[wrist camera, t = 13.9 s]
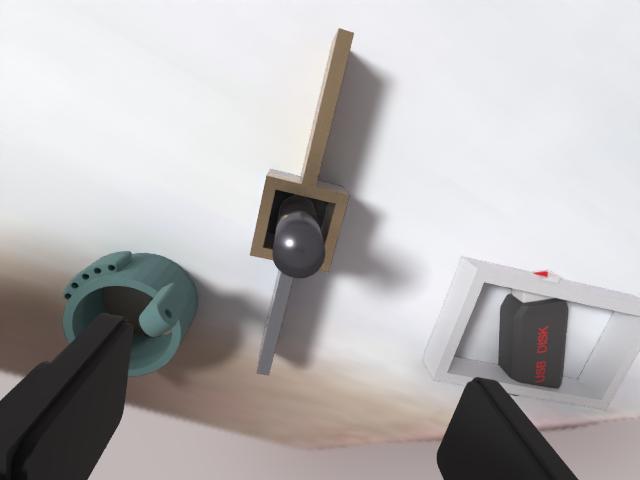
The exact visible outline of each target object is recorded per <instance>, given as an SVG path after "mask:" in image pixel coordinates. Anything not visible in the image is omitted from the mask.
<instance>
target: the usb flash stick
mask: <svg viewBox="0 0 640 480" xmlns="http://www.w3.org/2000/svg"><path fill="white" fill-rule="evenodd" d="M532 273H534V274H536V275H541V276H545V277H548V278H544V279H542V280H547V281H551V282H556V283H560V276H558V275H556V274H554V273H553V272H551V271H549V270H540V271H534V272H532ZM567 320H568V306H567V303H566V301H565V300H563V299H558V298H554V297H549V296H545V295H540V294H535V293H531V292H526V291H522V290H517V289H512V294H508V295H507V296H506V298H505V300H504V301H503V303H502V305H501V308H500V331H499V366H500V367H501V368H502V369H503V370H504V372H505V373H506V374H507V375H508V376H509V377H510V378H511V379H513V380H515V381H517V382H519V383H524V384H530V385H536V386H542V387H548V388H556V389H559V388H560V386H561V384H562V379H563V367H564V356H565V344H566V332H567ZM508 394H509V393H508ZM510 395H514V394H510ZM514 396H519V395H514Z"/></svg>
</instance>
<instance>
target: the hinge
mask: <svg viewBox="0 0 640 480" xmlns="http://www.w3.org/2000/svg"><path fill="white" fill-rule="evenodd" d="M353 35H354V33H353V32H349V31H346V30H343V29H340V28H339V29H338V31H337V33H336V35H335V37H334V40H333V42H332V45H331V50H330V54H329V58H328V62H327V67H326V71H325V75H324V79H323V84H322V88H321V92H320V96H319V101H318V105H317V109H316V113H315V118H314V122H313V126H312V130H311V135H310V139H309V143H308V147H307V152H306V156H305V160H304V164H303V169H302V173H301V176H297V175H293V174H289V173H285V172H281V171H277V170H273V169H270V170H269V172H268V174H267V176H266V181H265V185H264V190H263V195H262V200H261V205H260V209H259V214H258V219H257V224H256V229H255V233H254V238H253V243H252V248H251V253H250V255H251V256H255V257H260V258H265V259H270V260H273V245H274V239H275V234H272V233H268V232H267V228H268V224H269V219H270V214H271V210H272V205H273V201H274V196H275V192H276V190H280V191H284V192H288V193H293V194H297V195H301V196H305V197H310V198H314V199H318V200H322V201H326V202H328V205H327V209H326V213H325V217H324V220H323V224H322V228H321V235H322V239H323V243H324V247H325V259H324V262H323V264H322V266H321V268H320V269H319V270H323V271H327V272H329V268H330V265H331V261H332V257H333V254H334V250H335V247H336V243H337V239H338V236H339V232H340V229H341V225H342V221H343V218H344V214H345V210H346V207H347V203H348V200H349V196H350V195H349V194H348V193H347V192H346V190H345V189H344V188H343V187H342V186H338V185H334V184H330V183H326V182H322V181H318V176H319V172H320V168H321V164H322V160H323V156H324V152H325V148H326V144H327V140H328V136H329V132H330V128H331V124H332V120H333V116H334V112H335V108H336V104H337V100H338V96H339V92H340V88H341V84H342V80H343V76H344V72H345V68H346V64H347V60H348V56H349V52H350V48H351V44H352V40H353ZM292 280H293V277H289V276H287V275H285V274H283V273H282V272H281V271H280V270H279V271H278V275H277V279H276V283H275V288H274V292H273V296H272V300H271V305H270V309H269V313H268V317H267V322H266V326H265V330H264V334H263V339H262V343H261V348H260V355H259V362H258V369H257V374H263V375H269V373H270V369H271V365H272V361H273V357H274V353H275V349H276V345H277V341H278V337H279V333H280V329H281V325H282V321H283V317H284V313H285V309H286V305H287V301H288V297H289V293H290V289H291V285H292Z"/></svg>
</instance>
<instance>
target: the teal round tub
mask: <svg viewBox="0 0 640 480" xmlns="http://www.w3.org/2000/svg"><path fill="white" fill-rule="evenodd" d="M107 286H126V287H130V288H134V289H137V290H140V291H142V292H144V293H146V294H148V295H149V296H151V297H152V298H153V300H152V301H151V302H150V303H149V305H148V306H147V307H146V308H145V309H144V311H143V312H142V313H141V315H140V317H139V323H140V326H141V328H142V329H143V331H144V332H145V333H146V334H148V335H149V336H142V335H139V334H135V333H133V337H132V345H131V354H130V362H129V370H128V377H135V376H142V375H146V374H149V373H152V372H154V371H156V370H158V369H160V368H161V367H163V366H164V365H166V364H167V363H168V362H169V361H170V360H171V359H172V357H173V356H174V354H175V353H176V351H177V349H178V347H179V345H180V343H181V341H182V339H183V337H184V335H185V334H186V332H187V330H188V328H189V326H190V324H191V322H192V320H193V318H194V316H195V314H196V310H197V306H198V296H197V291H196V288H195V285H194V283H193V282H192V280H191V279H190V278H189V277H188V275H187V274H186V273H185V272H184V270H183V269H182V268H181V267H180V266H179V265H178V264H176V263H175V262H173V261H172V260H170V259H167V258H165V257H163V256H159V255H156V254H149V253H136V254H132V253H131V252H130V251H125V252H117V253H112V254H109V255H107V256H104V257H102V258H101V259H99V260H97V261H96V262H94V263H93V264H92V265H90V266H89V267H87V268H86V269H84V270H83V271H81V272H80V273H79V274H77V275H76V276H75V277H74V278H73V279H72V280H71V281H70V283H69V284H68V286H67V287H66V289H65V292H64V294H63V298H65V299H68V300H69V301H68V303H67V305H66V306H65V310H64V314H63V329H64V333H65V336H66V339H67V341H68V343H69V344H70V343H71V342H72V341H73V340H74V339H75V338H76V337H77V336H78V335H79V334H80V333H81V332H82V331H83V330H84V329H85V328H86V327H87V326H88V325H89V324H90V323H91V322H92V321H93V320H94V319H95V318H96V317H97V316H98V315H100V314H101V313H105V314H109V313H108V311H107V309H106V307H105V304H104V301H103V293H102V291H103V287H107ZM171 328H172V333H170V334H167V335H163V336H160V335H161V334H163V333H165V332H166V331H168V330H170V329H171ZM150 336H151V337H150Z"/></svg>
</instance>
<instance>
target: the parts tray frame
mask: <svg viewBox="0 0 640 480" xmlns="http://www.w3.org/2000/svg"><path fill="white" fill-rule="evenodd" d="M544 278H548V277H545V276H541V275H536V274H534V273H532V272H529V271H524V270H520V269H516V268H511V267H507V266H502V265H498V264H494V263H489V262H485V261H480V260H476V259H472V258H467V257H463V256H461V258H460V261H459V264H458V266H457V269H456V271H455V274H454V277H453V279H452V282H451V284H450V287H449V290H448V292H447V295H446V297H445V300H444V303H443V305H442V308H441V310H440V313H439V316H438V318H437V321H436V324H435V326H434V329H433V331H432V334H431V337H430V339H429V342H428V344H427V347H426V350H425V352H424V355H423V357H422V362H423V363H424V365H425V367H426V369H427V371H428V372H429V374H430V376H431V378H432V380H433V381H439V382H445V383H451V384H457V385H462V386H466V385H467V383H468V382H469V381H472V380H473V379H474V378H475V377H480V378H486V379H492V380H496V381H498V382H499V383H500V384H501V386H502V387H503V388H504V389H505V390H506V392H507V393H509V394H514V395H520V396H526V397H532V398H538V399H543V400H549V401H555V402H561V403H567V404H572V405H578V406H584V407H590V408H596V409H601V410H606V408H607V406H608V405H609V403H610V401H611V400H612V398H613V396H614V394H615V393H616V391H617V389H618V387H619V386H620V384H621V382H622V380H623V379H624V377H625V375H626V373H627V372H628V370H629V368H630V367H631V365H632V363H633V361H634V360H635V358H636V356H637V354H638V353H639V351H640V298H638V297H636V296H634V295H630V294H626V293H621V292H617V291H613V290H608V289H604V288H599V287H595V286H591V285H586V284H582V283H577V282H573V281H569V280H564V279H560V283H556V282H551V281H547V280H542V279H544ZM484 282H485V283H490V284H494V285H499V286H503V287H508V288H512V289H517V290H522V291H526V292H531V293H535V294H540V295H545V296H549V297H554V298H558V299H563V300H568V301H572V302H577V303H581V304H586V305H590V306H595V307H600V308H604V309H609V310H613V311H614V312H613V314H612V316H611V318H610V320H609V322H608V324H607V325H606V327H605V329H604V331H603V333H602V335H601V337H600V339H599V340H598V342H597V344H596V346H595V348H594V350H593V352H592V354H591V355H590V357H589V359H588V361H587V363H586V365H585V367H584V369H583V370H582V372H581V374H580V376H579V378H578V379H573V378H568V377H563V379H562V384H561V386H560V388H559V389H556V388H548V387H542V386H536V385H530V384H524V383H519V382H517V381H515V380H513V379H511V378H510V377H509V376H508V375H507V374H506V373H505V372H504V370H503V369H502V368H501V367H500V366H499V365H497V364H492V363H487V362H481V361H476V360H470V359H465V358H459V357H454V355H455V352H456V350H457V347H458V345H459V342H460V340H461V337H462V335H463V333H464V330H465V328H466V325H467V323H468V320H469V318H470V316H471V313H472V311H473V308H474V306H475V303H476V301H477V299H478V296H479V294H480V291H481V289H482V286H483V284H484Z"/></svg>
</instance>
